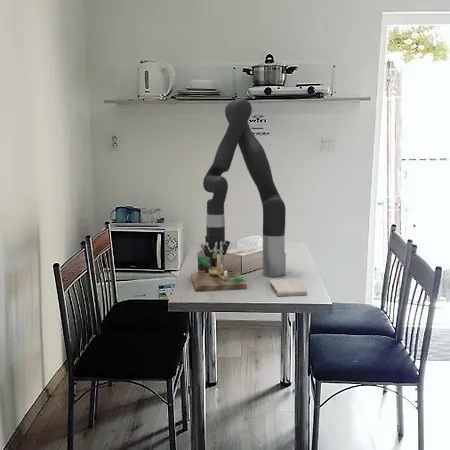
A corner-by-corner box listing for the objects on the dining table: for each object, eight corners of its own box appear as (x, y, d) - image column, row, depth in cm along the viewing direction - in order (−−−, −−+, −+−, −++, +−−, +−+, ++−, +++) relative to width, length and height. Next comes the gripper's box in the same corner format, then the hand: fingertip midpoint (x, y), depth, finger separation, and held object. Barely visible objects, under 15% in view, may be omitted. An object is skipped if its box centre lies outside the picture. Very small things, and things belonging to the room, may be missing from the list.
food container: (211, 275, 258) (211, 252, 256) (197, 275, 259) (197, 252, 257) (217, 268, 270) (217, 246, 268) (204, 268, 271) (203, 246, 269)
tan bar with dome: (206, 272, 254) (206, 251, 252) (219, 271, 256) (219, 250, 254) (219, 281, 240) (218, 259, 239) (233, 280, 242) (233, 257, 241)
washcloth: (296, 283, 246) (297, 276, 246) (308, 296, 229) (308, 288, 228) (267, 285, 245) (267, 277, 245) (277, 298, 228) (277, 290, 227)
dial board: (238, 276, 257) (238, 267, 256) (246, 288, 238) (246, 280, 237) (191, 278, 254) (191, 270, 253) (195, 291, 235) (195, 282, 235)
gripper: (223, 221, 255) (223, 261, 258) (196, 225, 246) (196, 267, 249) (234, 224, 249) (234, 265, 252) (207, 228, 240) (208, 270, 244)
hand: (215, 266), depth 251 cm, fingers closed on tan bar with dome, 2 cm apart
